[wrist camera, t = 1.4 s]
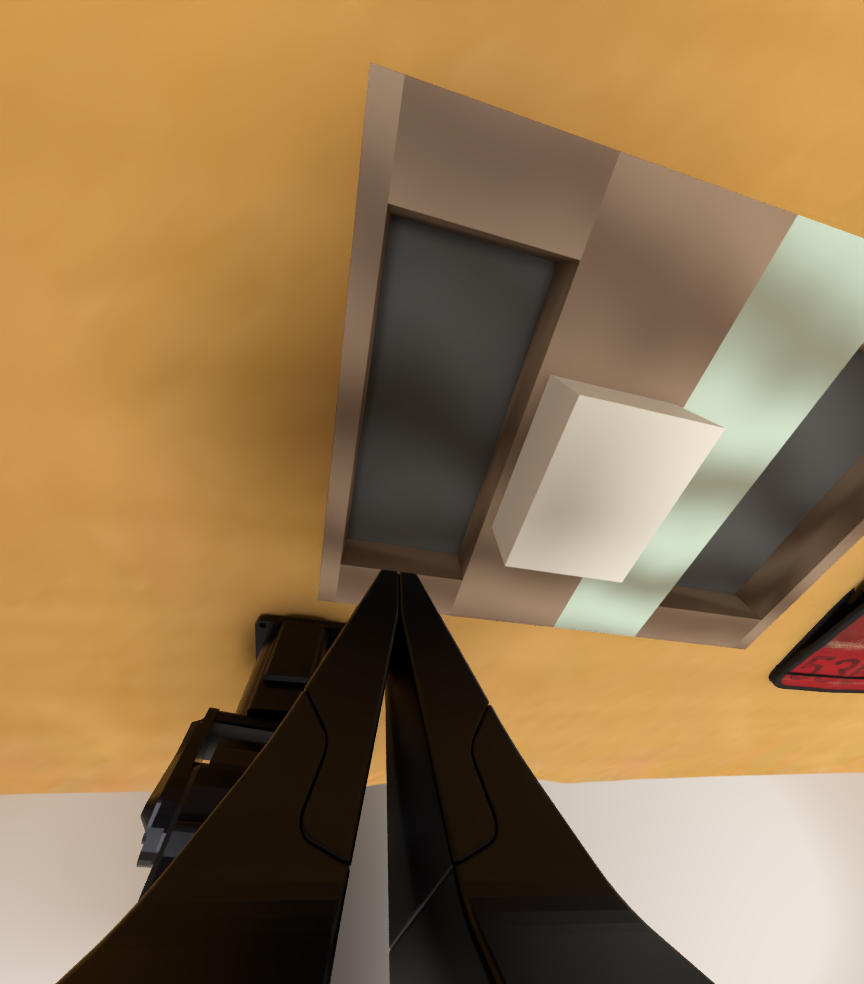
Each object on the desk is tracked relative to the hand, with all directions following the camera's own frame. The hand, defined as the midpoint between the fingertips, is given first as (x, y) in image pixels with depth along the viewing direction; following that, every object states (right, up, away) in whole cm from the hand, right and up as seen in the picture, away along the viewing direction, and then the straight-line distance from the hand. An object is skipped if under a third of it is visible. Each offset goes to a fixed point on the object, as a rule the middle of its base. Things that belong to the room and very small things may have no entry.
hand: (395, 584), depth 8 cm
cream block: (+8, +3, +9) cm, 12 cm away
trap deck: (+11, +4, +12) cm, 17 cm away
